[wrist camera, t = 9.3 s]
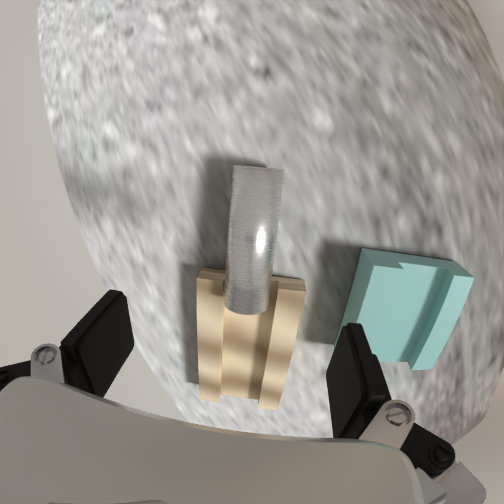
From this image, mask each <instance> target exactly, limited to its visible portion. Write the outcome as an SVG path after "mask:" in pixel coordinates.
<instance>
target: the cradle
mask: <svg viewBox="0 0 504 504" xmlns="http://www.w3.org/2000/svg"><path fill="white" fill-rule="evenodd" d="M473 280H474V277H473V276H472V275H471V274H470V273H468V272H467V271H466V270H465V269H464V268H463V267H462V266H460V265H459V264H458V263H457V262H455V261H448V260H442V259H435V258H428V257H422V256H415V255H408V254H401V253H394V252H387V251H380V250H372V249H365V248H362V249H361V253H360V258H359V262H358V266H357V270H356V273H355V277H354V281H353V285H352V288H351V292H350V296H349V299H348V303H347V306H346V309H345V313H344V316H343V319H342V323H341V326H340V329H339V332H338V335H337V338H336V341H335V344H334V349H335V346H336V343H337V340H338V338H339V335H340V332H341V328H342V326H346V325H347V323H361V324H362V326H363V329H364V332H365V335H366V337H367V340H368V343H369V346H370V349H371V351H372V354H375V355H376V356H377V358H378V360H379V362H408V364H409V366H410V368H411V370H425V369H432V367H433V365H434V363H435V362H436V360H437V358H438V356H439V355H440V353H441V351H442V349H443V347H444V345H445V343H446V341H447V339H448V338H449V336H450V334H451V331H452V329H453V327H454V325H455V323H456V321H457V319H458V317H459V314H460V312H461V310H462V308H463V305H464V303H465V301H466V298H467V296H468V293H469V291H470V288H471V286H472V283H473Z"/></svg>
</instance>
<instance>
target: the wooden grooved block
mask: <svg viewBox="0 0 504 504" xmlns="http://www.w3.org/2000/svg"><path fill="white" fill-rule="evenodd" d="M225 272H226V270H219V269H211V268H202V270H201V271H200V273H199V275H198V276H197V347H198V373H199V393H200V399H201V400H206V401H212V402H218V403H219V400H220V396H221V394H222V395H228V396H235V397H242V398H250V399H258V400H259V401H258V408H261V409H271V410H277V409H278V405H279V402H280V398H281V394H282V391H283V387H284V383H285V379H286V376H287V372H288V368H289V364H290V360H291V356H292V352H293V347H294V343H295V339H296V335H297V330H298V326H299V322H300V317H301V313H302V308H303V303H304V298H305V294H306V289H305V282H304V280H300V279H291V278H283V277H274V276H272V278H271V286H270V294H269V302H268V308H267V310H266V311H264V312H262V313H260V314H256V315H242V314H237V313H234V312H232V311H230V310H228V309H227V308H226V307H225V306H224V289H225Z"/></svg>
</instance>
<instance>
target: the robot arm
mask: <svg viewBox="0 0 504 504" xmlns="http://www.w3.org/2000/svg"><path fill="white" fill-rule="evenodd" d="M133 347H134V338H133V333H132V327H131V322H130V316H129V310H128V304H127V298H126V296H125V295H124V294H123V292H121V291H117V290H112V289H111V290H109V291H108V292H107V293H106V294H105V295H104V296H103V297H102V298H101V299H100V300H99V301H98V302H97V303H96V304H95V305H94V306H93V307H92V308H91V310H90V311H89V312H88V313H87V314H86V315H85V316H84V317H83V318H82V319H81V320H80V321H79V322H78V323H77V324H76V326H75V327H74V328H73V329H72V330H71V331H70V332H69V333H68V334H67V336H66V337H65V338H64V339H63V340H62V341H61V346H60V347H59V348H58V347H57V346H56V345H54V344H43V345H40V346H39V347H37V348H36V349H35V350H34V351H33V352H32V355H31V360H29V361H25V362H21V363H17V364H13V365H8V366H4V367H1V368H0V504H483V502H484V500H485V498H486V490H485V488H484V486H483V485H482V484H481V483H480V482H479V481H478V480H477V478H475V476H474V475H473V474H472V473H471V472H470V471H469V470H468V469H467V468H466V467H465V466H464V465H463V464H462V463H461V462H458V463H457V462H456V461H455V452H454V449H453V447H452V446H451V445H450V444H449V443H448V442H446V441H445V440H443V439H441V438H439V437H438V436H436V435H434V434H433V433H431V432H429V431H428V430H426V429H424V428H422V427H421V426H419V425H418V424H416V423H414V421H415V413H414V410H413V409H412V407H411V406H410V405H409V404H407V403H406V402H404V401H401V400H392V399H391V396H390V393H389V390H388V387H387V384H386V381H385V378H384V375H383V372H382V369H381V366H380V363H379V360H378V358H377V356H376V355H375V354H372V351H371V349H370V346H369V343H368V340H367V337H366V335H365V332H364V329H363V326H362V324H361V323H347V325H346V326H342V328H341V332H340V335H339V338H338V340H337V343H336V346H335V349H334V352H333V355H332V358H331V360H330V363H329V366H328V369H327V372H326V380H327V388H328V395H329V403H330V412H331V420H332V429H333V438H311V437H292V436H278V435H266V434H256V433H248V432H240V431H233V430H227V429H220V428H214V427H209V426H204V425H198V424H194V423H189V422H184V421H180V420H175V419H171V418H167V417H163V416H160V415H155V414H152V413H148V412H145V411H141V410H138V409H135V408H132V407H128V406H125V405H122V404H119V403H116V402H113V401H110V400H107V399H104V398H103V397H104V396H105V394H106V392H107V390H108V389H109V387H110V386H111V384H112V382H113V381H114V379H115V377H116V375H117V374H118V372H119V371H120V369H121V367H122V365H123V364H124V362H125V361H126V359H127V358H128V356H129V354H130V353H131V351H132V349H133Z"/></svg>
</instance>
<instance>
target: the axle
mask: <svg viewBox="0 0 504 504" xmlns="http://www.w3.org/2000/svg"><path fill="white" fill-rule="evenodd" d="M283 173H284V170H282V169H274V168H264V167H254V166H241V165H233V176H232V188H231V200H230V213H229V227H228V241H227V256H226V272H225V289H224V306H225V307H226V308H227V309H228V310H230V311H232V312H234V313H237V314H242V315H256V314H260V313H262V312H264V311H266V310H267V308H268V302H269V294H270V286H271V278H272V270H273V262H274V254H275V245H276V237H277V228H278V219H279V210H280V201H281V192H282V183H283Z"/></svg>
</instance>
